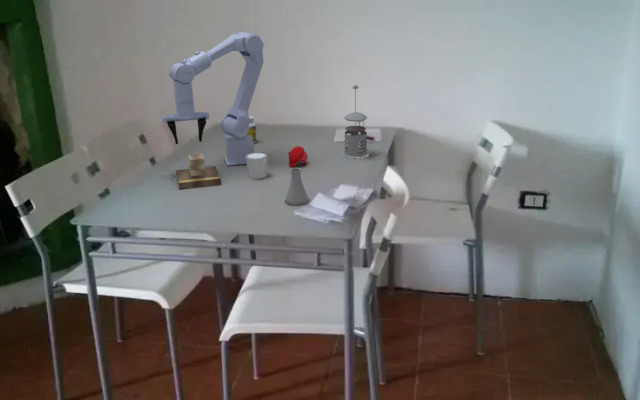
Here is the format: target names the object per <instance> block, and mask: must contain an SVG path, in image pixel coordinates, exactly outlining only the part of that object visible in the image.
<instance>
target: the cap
mask: <svg viewBox="0 0 640 400" xmlns="http://www.w3.org/2000/svg"><path fill="white" fill-rule="evenodd" d="M307 161H308V153H307V152H306V151H305V149H304V147H303V146H298V145H297V146H295V147H293V148H291V150H290V151H289V152H288V167H289V168H290V169H291V168H296V166H297V165H298V163H299V162H301V163H302V164H303V166H305V165H306V163H307Z"/></svg>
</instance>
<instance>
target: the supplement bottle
mask: <svg viewBox="0 0 640 400" xmlns="http://www.w3.org/2000/svg"><path fill="white" fill-rule="evenodd" d="M249 117H250V121H249V132H248V134H247V136H252V139H253V144H256V143H257V124H256V122H254V121H255V120H254V119H255V118H254V116H251V115H249Z"/></svg>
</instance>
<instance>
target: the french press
mask: <svg viewBox="0 0 640 400" xmlns="http://www.w3.org/2000/svg"><path fill="white" fill-rule="evenodd" d="M352 89H354V100H355V101H354V108H355V109H354V112H350V113H347V114H346V115H344V116H343V119H345V121H348V122H354V123H355V124H354V125H350V126H346V127H345V131H344V151H343V153H342V154H343V155H344V156H347V157H363V156H365V155H367V154H368V153H369V152H368V148H367V146H368V145H367V143H368V141H367V140H368V137H367V136H368V134H367V131H366V130H367V128H366V127H365V126H364V125H365V122H364V121H366V120H367V119H368V116H367V115H365V114H364V113H362V112H357V104H356V103H357V93H356V92H357V91H356V90H357V89H359V85H357V84H353V85H352ZM357 123H358V125H357ZM361 123H363V126H362V125H361ZM367 152H368V153H367Z"/></svg>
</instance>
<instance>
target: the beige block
mask: <svg viewBox="0 0 640 400" xmlns="http://www.w3.org/2000/svg"><path fill="white" fill-rule="evenodd" d="M187 158H188V167H189V168H188V169H190V175H191V178H197V177H206V174H205V167H206V165H205V164H206V163H205V157H204V154H203V153H202V152H201V153H200V152H199V153H191V154H188V155H187Z"/></svg>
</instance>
